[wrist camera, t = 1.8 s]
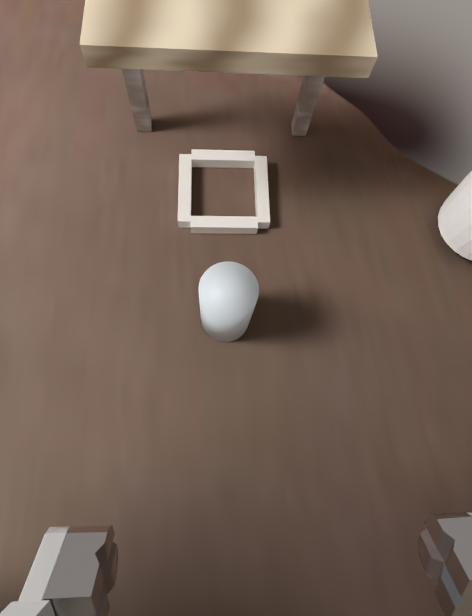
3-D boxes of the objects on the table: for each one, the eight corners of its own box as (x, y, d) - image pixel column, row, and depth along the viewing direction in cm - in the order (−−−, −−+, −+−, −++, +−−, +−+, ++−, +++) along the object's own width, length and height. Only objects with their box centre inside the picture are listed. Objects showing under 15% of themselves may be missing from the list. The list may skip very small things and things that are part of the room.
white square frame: (178, 233, 38) (177, 226, 37) (180, 157, 41) (179, 149, 40) (268, 234, 39) (270, 227, 38) (264, 159, 41) (266, 151, 40)
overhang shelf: (132, 201, 39) (79, 44, 23) (137, 119, 42) (94, -68, 26) (312, 204, 40) (377, 57, 24) (304, 124, 43) (358, -53, 27)
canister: (200, 342, 35) (198, 318, 28) (201, 295, 36) (198, 261, 29) (250, 341, 35) (260, 318, 28) (248, 295, 37) (257, 261, 29)
